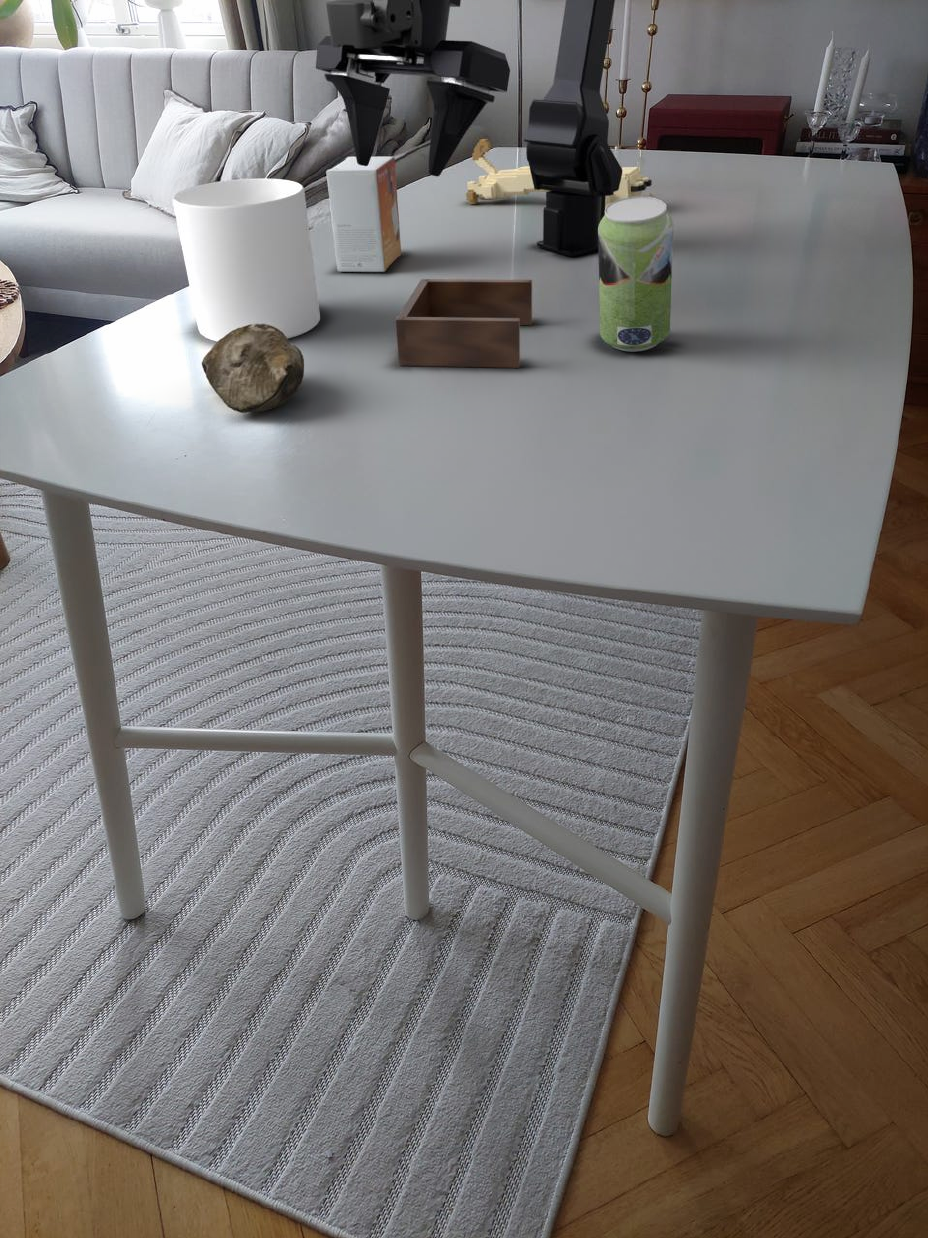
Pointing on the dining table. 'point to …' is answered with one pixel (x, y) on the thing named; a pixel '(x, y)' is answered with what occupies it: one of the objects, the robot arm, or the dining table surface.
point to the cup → (248, 255)
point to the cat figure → (522, 183)
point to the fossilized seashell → (254, 368)
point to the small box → (364, 214)
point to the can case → (464, 323)
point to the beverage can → (635, 273)
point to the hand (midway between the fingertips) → (397, 170)
